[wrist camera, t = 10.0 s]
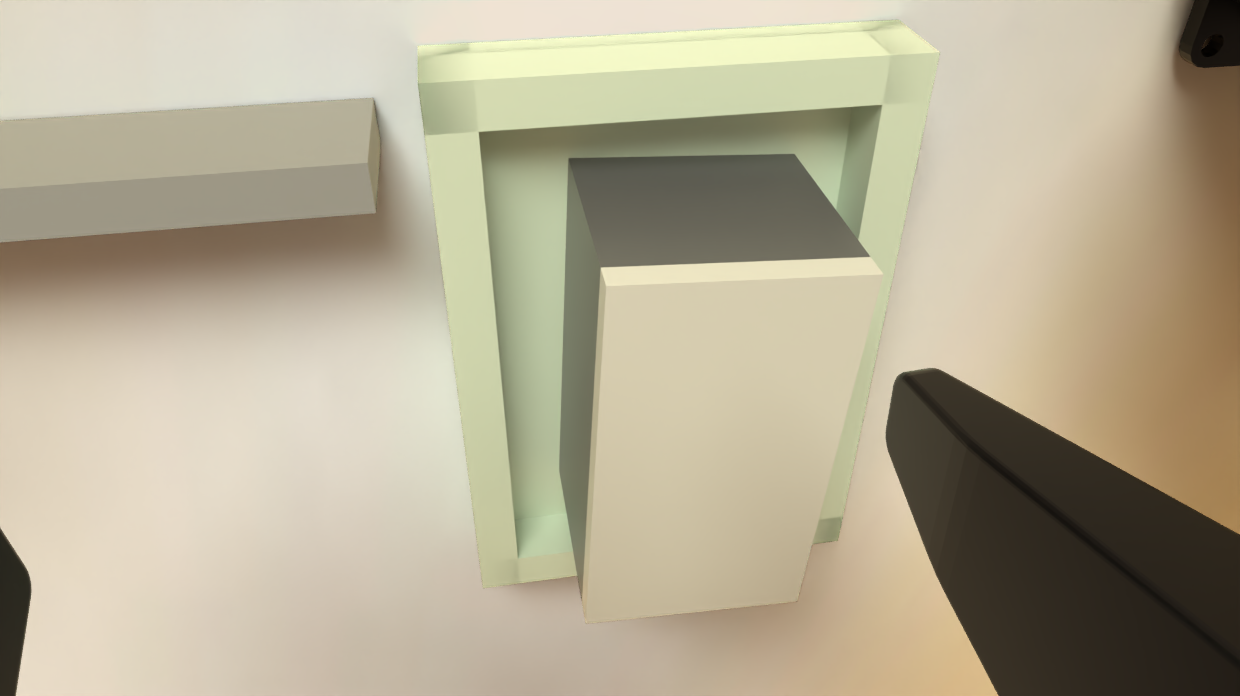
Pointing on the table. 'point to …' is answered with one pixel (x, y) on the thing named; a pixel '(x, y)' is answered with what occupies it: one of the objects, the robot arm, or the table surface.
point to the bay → (187, 168)
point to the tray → (634, 127)
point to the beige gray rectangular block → (703, 377)
